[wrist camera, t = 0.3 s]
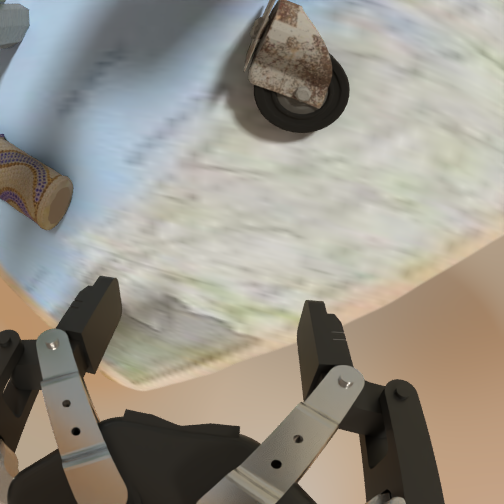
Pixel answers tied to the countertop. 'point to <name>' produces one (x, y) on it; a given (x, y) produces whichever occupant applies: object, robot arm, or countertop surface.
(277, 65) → the caster wheel
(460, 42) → the countertop surface
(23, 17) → the hub
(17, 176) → the decorative bottle
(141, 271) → the countertop surface
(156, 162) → the countertop surface
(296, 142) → the countertop surface
